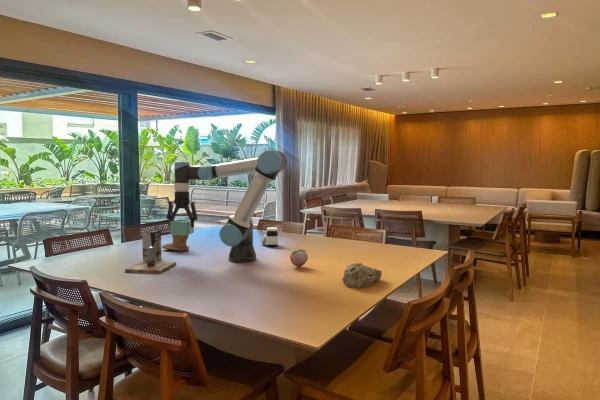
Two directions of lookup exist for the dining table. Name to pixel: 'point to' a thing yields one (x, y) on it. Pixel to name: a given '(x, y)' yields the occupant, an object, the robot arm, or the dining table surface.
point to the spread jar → (270, 237)
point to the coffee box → (152, 243)
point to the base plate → (150, 267)
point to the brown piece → (177, 243)
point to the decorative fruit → (299, 257)
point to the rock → (360, 275)
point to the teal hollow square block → (180, 227)
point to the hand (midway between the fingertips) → (182, 233)
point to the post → (151, 256)
